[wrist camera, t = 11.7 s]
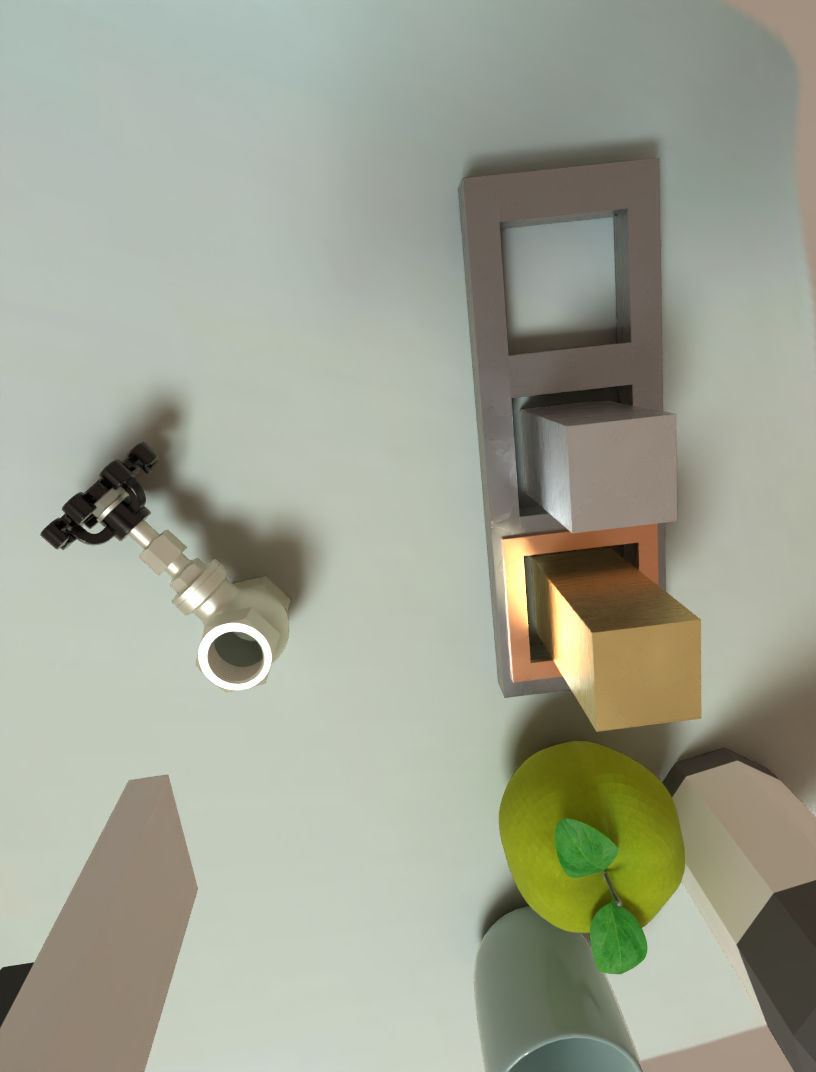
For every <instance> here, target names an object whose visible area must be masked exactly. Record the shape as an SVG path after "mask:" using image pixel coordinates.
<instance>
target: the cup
mask: <svg viewBox="0 0 816 1072" xmlns="http://www.w3.org/2000/svg"><path fill="white" fill-rule="evenodd" d="M474 991H475V1003H476V1012H477V1022H478V1029H479V1037H480V1043H481V1050H482V1056H483V1062H484V1069H485V1072H643V1070H642V1067H641V1063H640V1060H639V1057H638V1054H637V1052H636V1049H635V1046H634V1043H633V1041H632V1038H631V1035H630V1033H629V1030H628V1027H627V1025H626V1022H625V1020H624V1017H623V1014H622V1012H621V1009H620V1007H619V1004H618V1002H617V999H616V997H615V994H614V992H613V990H612V987H611V985H610V983H609V980H608V978H607V976H606V974H605V973H602V972H600V971H599V970H598V969H597V967H596V965H595V961H594V957H593V953H592V948H591V946H590V944H589V943H588V941H587V940H586V938H585V937H584V936H583V934H582V933H576V932H569V931H565V930H563V929H560V928H558V927H556V926H554V925H552V924H551V923H550V922H548V921H547V920H545V919H544V918H542V917H541V916H540V915H539V914H538V913H536V912H535V911H534V910H533V909H532V908H531V907H530V906H529V907H522V908H519V909H516V910H513V911H511V912H509V913H507V914H505V915H504V916H503V917H501V918H500V919H499V920H497V921H496V922H495V923H494V924H493V925H492V926H491V927H490V928H489V930H488V931H487V932H486V934H485V935H484V937H483V939H482V941H481V944H480V946H479V948H478V952H477V956H476V962H475V970H474Z"/></svg>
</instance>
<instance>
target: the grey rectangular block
mask: <svg viewBox="0 0 816 1072" xmlns="http://www.w3.org/2000/svg"><path fill="white" fill-rule="evenodd" d="M520 415H521V431H522V446H523V461H524V477H525V492H526V493H527V494H528V495H529V496H530V497H531V498H533V499H534V500H535V501H536V502H537V503H538V504H539V505H541V506H542V507H543V508H544V509H545V510H546V511H547V512H548V513H550V514H551V515H552V516H553V517H554V518H555V519H556V520H558V521H559V522H560V523H561V524H562V525H563V526H564V527H566V528H567V529H568V530H569V531H570V532H571V533H579V532H588V531H596V530H605V529H614V528H622V527H631V526H639V525H648V524H657V523H665V522H674V521H677V452H676V414H673V413H668V412H662V411H657V410H652V409H647V408H642V407H637V406H631V405H626V404H621V403H616V402H611V401H605V400H601V401H592V402H583V403H574V404H565V405H556V406H547V407H538V408H529V409H520Z"/></svg>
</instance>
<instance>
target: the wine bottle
mask: <svg viewBox="0 0 816 1072" xmlns="http://www.w3.org/2000/svg"><path fill="white" fill-rule="evenodd" d="M663 785H664V786H665V787H666V789H667V790H668V792H669V793H670V795H671V797H672V799H673V801H674V804H675V806H676V809H677V814H678V818H679V823H680V828H681V833H682V838H683V843H684V848H685V871H684V875H683V878H682V881H681V882H682V883H683V885H684V887H685V888H686V890H687V892H688V893H689V895H690V897H691V898H692V900H693V902H694V903H695V905H696V907H697V908H698V910H699V912H700V914H701V915H702V917H703V919H704V920H705V922H706V924H707V925H708V927H709V929H710V930H711V932H712V934H713V935H714V937H715V939H716V940H717V942H718V944H719V946H720V947H721V949H722V951H723V952H724V954H725V956H726V957H727V959H728V961H729V962H730V964H731V966H732V967H733V969H734V971H735V972H736V974H737V976H738V978H739V979H740V981H741V983H742V984H743V986H744V988H745V989H746V991H747V993H748V994H749V996H750V998H751V999H752V1001H753V1003H754V1004H755V1006H756V1008H757V1009H758V1011H759V1013H760V1015H761V1016H762V1018H763V1020H764V1021H765V1023H766V1025H767V1026H768V1028H769V1030H770V1031H771V1033H772V1035H773V1036H774V1038H775V1040H776V1041H777V1043H778V1045H779V1046H780V1048H781V1050H782V1052H783V1053H784V1055H785V1057H786V1058H787V1060H788V1062H789V1063H790V1065H791V1067H792V1068H793V1070H794V1072H816V817H815V816H814V815H813V814H812V813H811V812H810V811H809V809H808V808H807V807H806V806H805V805H804V804H803V803H802V802H801V801H800V800H799V799H798V798H797V797H796V796H795V795H794V794H793V793H792V792H791V791H790V790H789V789H788V788H787V787H786V786H785V785H784V784H783V783H782V782H781V781H780V780H779V779H778V778H777V777H776V776H775V775H774V774H773V773H772V772H771V771H769V770H768V769H767V768H765V767H764V766H762V765H759V764H757V763H755V762H753V761H751V760H749V759H747V758H744V757H742V756H740V755H738V754H736V753H734V752H732V751H729V750H727V749H725V748H722V749H719V750H716V751H713V752H710V753H706V754H703V755H700V756H697V757H694V758H691V759H687V760H684V761H681V762H678V763H676V764H675V765H674V767H673V768H672V770H671V771H670V773H669V774H668V776H667V777H666V779H665V781H664V782H663Z"/></svg>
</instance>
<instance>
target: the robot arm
mask: <svg viewBox="0 0 816 1072" xmlns="http://www.w3.org/2000/svg"><path fill="white" fill-rule="evenodd" d="M197 890H198V887H197V883H196V880H195V876H194V872H193V868H192V864H191V860H190V857H189V853H188V849H187V845H186V841H185V837H184V834H183V830H182V826H181V822H180V818H179V814H178V810H177V807H176V803H175V799H174V795H173V791H172V787H171V784H170V780H169V776H168V775H161V776H154V777H148V778H141V779H134V780H129V781H128V783H127V785H126V787H125V789H124V791H123V793H122V795H121V797H120V799H119V800H118V802H117V804H116V806H115V808H114V810H113V812H112V814H111V816H110V818H109V820H108V822H107V824H106V825H105V827H104V829H103V831H102V833H101V835H100V837H99V839H98V841H97V843H96V845H95V847H94V849H93V851H92V852H91V854H90V856H89V858H88V860H87V862H86V864H85V866H84V868H83V870H82V872H81V874H80V876H79V878H78V879H77V881H76V883H75V885H74V887H73V889H72V891H71V893H70V895H69V897H68V899H67V901H66V903H65V904H64V906H63V908H62V910H61V912H60V914H59V916H58V918H57V920H56V922H55V924H54V926H53V928H52V930H51V931H50V933H49V935H48V937H47V939H46V941H45V943H44V945H43V947H42V949H41V951H40V953H39V955H38V956H37V958H36V960H35V962H33V963H27V964H21V965H14V966H8V967H3V968H2V969H1V970H0V1072H144V1071H145V1068H146V1064H147V1061H148V1057H149V1054H150V1051H151V1047H152V1044H153V1040H154V1037H155V1034H156V1030H157V1027H158V1023H159V1020H160V1016H161V1013H162V1010H163V1006H164V1003H165V999H166V996H167V993H168V989H169V986H170V982H171V979H172V976H173V972H174V969H175V965H176V962H177V958H178V955H179V952H180V948H181V945H182V941H183V938H184V935H185V931H186V928H187V924H188V921H189V918H190V914H191V911H192V907H193V904H194V901H195V897H196V894H197Z"/></svg>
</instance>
